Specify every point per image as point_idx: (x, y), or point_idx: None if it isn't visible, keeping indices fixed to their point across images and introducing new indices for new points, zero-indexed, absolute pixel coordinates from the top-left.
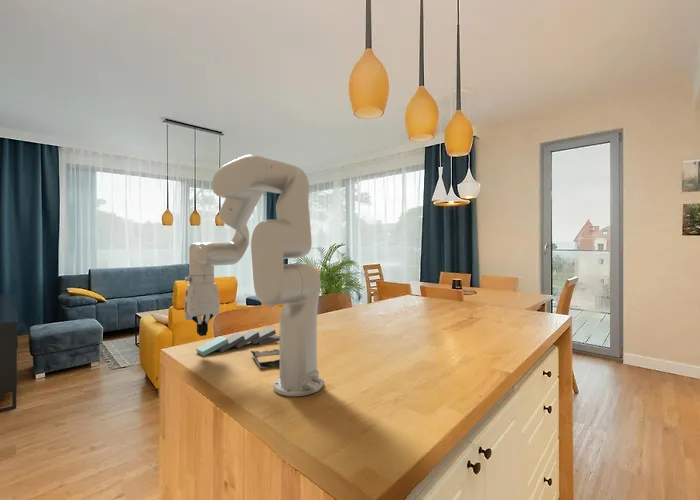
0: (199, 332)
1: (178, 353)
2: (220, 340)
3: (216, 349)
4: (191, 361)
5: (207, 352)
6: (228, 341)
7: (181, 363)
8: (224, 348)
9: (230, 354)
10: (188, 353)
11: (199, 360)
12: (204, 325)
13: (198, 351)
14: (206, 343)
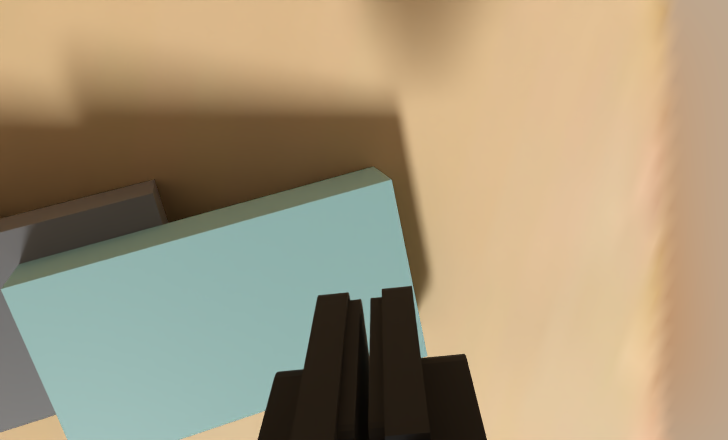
0: (446, 356)
1: (573, 427)
2: (109, 317)
3: None
4: (550, 55)
5: (328, 185)
6: None
7: (666, 52)
8: (107, 198)
9: (73, 30)
10: (489, 369)
11: (462, 32)
12: (346, 415)
13: None
14: None
